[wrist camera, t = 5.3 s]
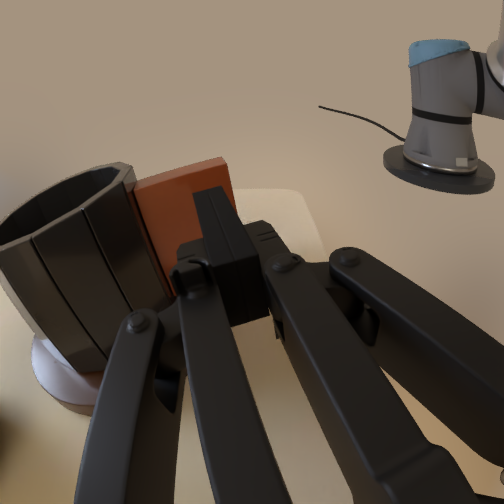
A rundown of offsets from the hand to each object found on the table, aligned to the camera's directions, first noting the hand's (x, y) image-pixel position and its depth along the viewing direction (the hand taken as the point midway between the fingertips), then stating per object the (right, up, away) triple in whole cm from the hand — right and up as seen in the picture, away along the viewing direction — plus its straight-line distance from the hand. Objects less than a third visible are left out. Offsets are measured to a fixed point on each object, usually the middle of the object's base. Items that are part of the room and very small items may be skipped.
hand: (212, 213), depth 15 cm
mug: (-7, -6, +5) cm, 10 cm away
